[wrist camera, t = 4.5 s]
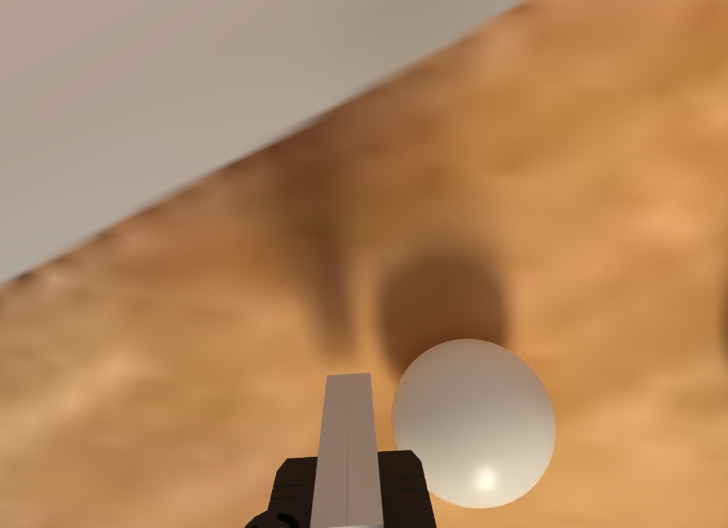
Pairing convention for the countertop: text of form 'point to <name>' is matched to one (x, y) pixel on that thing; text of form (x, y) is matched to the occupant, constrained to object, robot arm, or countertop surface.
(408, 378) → the cue ball
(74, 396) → the countertop surface
